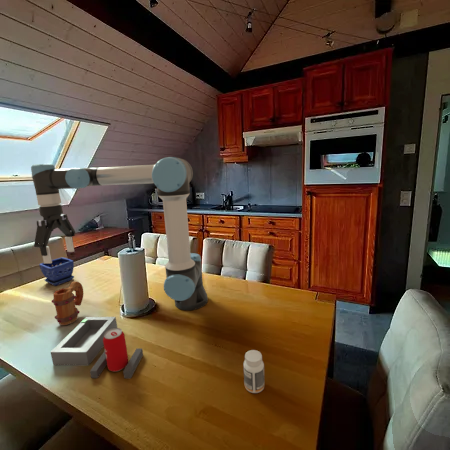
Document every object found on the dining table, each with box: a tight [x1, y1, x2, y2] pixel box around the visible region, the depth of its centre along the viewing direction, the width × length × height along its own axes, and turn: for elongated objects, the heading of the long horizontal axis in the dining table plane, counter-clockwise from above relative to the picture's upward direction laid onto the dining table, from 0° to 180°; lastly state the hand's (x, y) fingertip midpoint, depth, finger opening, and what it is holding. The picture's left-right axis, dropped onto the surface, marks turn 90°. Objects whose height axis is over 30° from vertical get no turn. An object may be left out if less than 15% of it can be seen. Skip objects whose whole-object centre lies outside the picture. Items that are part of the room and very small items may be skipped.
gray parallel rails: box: [89, 347, 144, 379], centre depth 84 cm, size 12×10×2 cm
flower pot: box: [39, 257, 75, 287], centre depth 151 cm, size 13×13×12 cm
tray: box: [50, 316, 118, 367], centre depth 94 cm, size 12×20×5 cm, turn 176°
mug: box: [50, 281, 84, 326], centre depth 111 cm, size 15×8×15 cm, turn 168°
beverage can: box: [103, 327, 129, 372], centre depth 82 cm, size 6×6×12 cm
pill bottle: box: [242, 349, 265, 394], centre depth 73 cm, size 6×6×10 cm
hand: (60, 257), depth 106 cm, fingers open, 13 cm apart
